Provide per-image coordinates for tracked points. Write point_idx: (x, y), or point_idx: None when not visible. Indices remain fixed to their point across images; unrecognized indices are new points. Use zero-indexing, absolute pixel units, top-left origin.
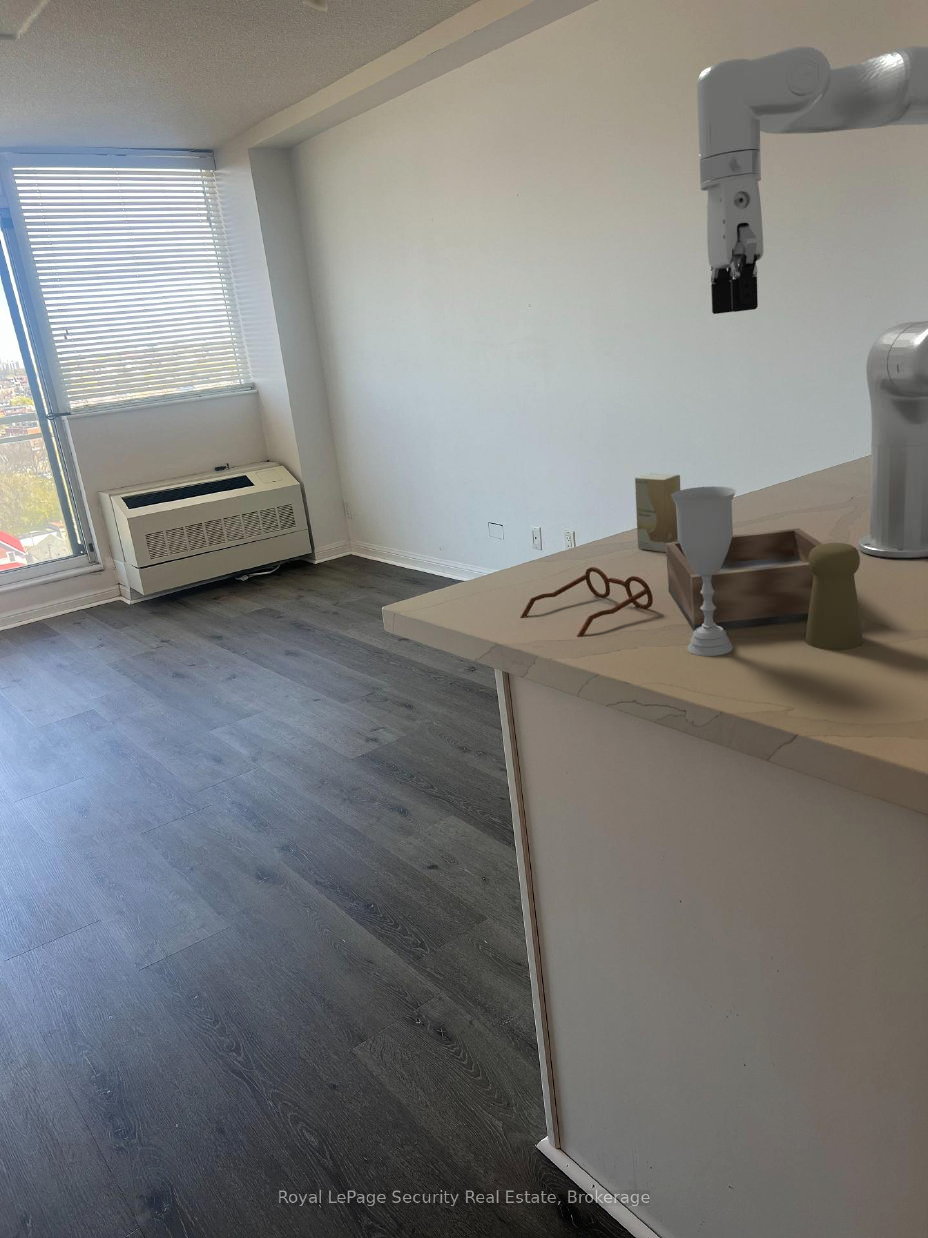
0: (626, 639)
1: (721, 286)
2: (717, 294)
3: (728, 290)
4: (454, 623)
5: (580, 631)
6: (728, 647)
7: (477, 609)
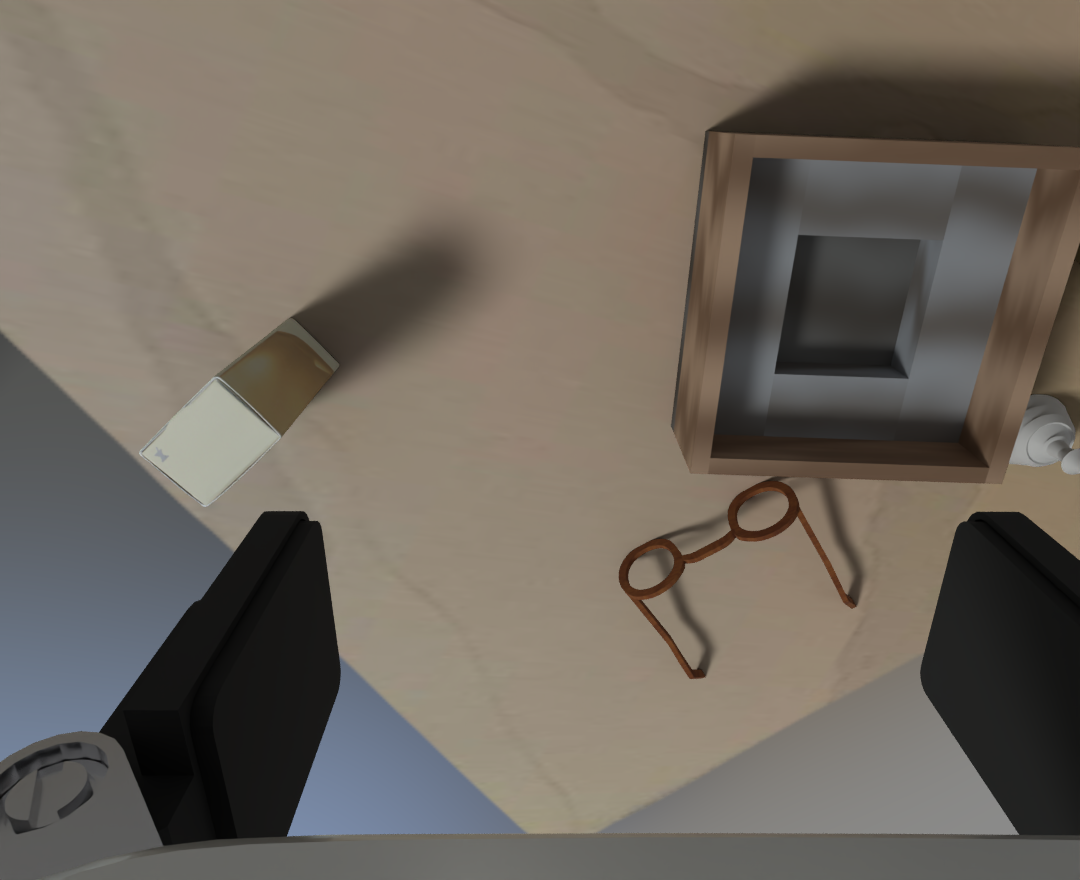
0: (909, 541)
1: (254, 817)
2: (292, 782)
3: (266, 706)
4: (682, 765)
5: (853, 606)
6: (1061, 407)
7: (619, 735)
